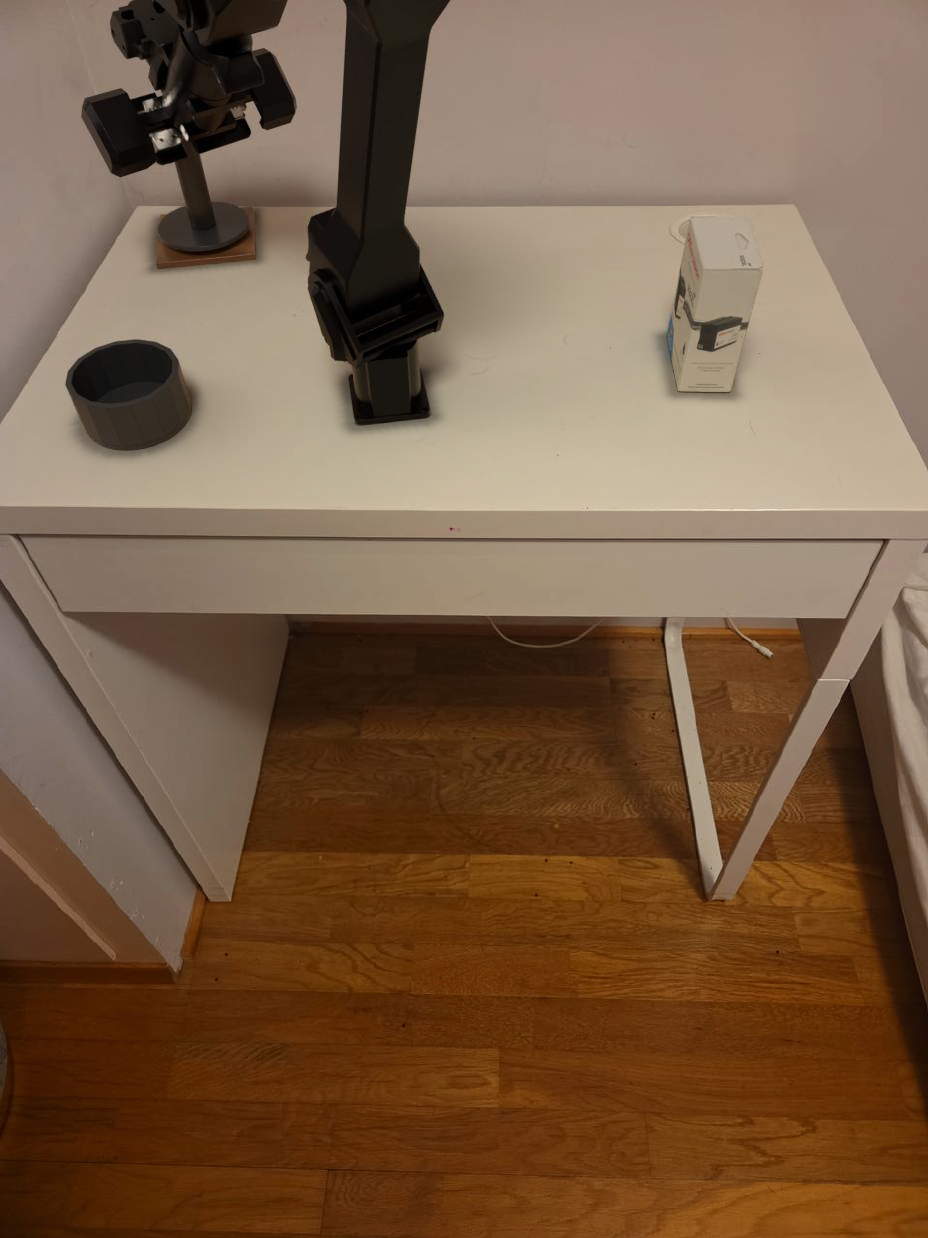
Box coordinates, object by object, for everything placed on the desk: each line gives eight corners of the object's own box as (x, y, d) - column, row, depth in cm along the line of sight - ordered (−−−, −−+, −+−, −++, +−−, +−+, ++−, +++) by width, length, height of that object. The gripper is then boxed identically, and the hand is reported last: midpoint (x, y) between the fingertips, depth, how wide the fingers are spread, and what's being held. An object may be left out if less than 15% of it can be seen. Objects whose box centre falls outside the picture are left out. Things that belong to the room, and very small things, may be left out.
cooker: (190, 443, 75) (176, 399, 71) (79, 456, 74) (59, 412, 70) (192, 377, 80) (179, 334, 77) (89, 388, 79) (71, 345, 76)
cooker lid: (190, 267, 90) (162, 165, 82) (144, 232, 95) (113, 132, 87) (268, 234, 94) (248, 134, 86) (220, 202, 98) (197, 103, 90)
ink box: (664, 335, 83) (688, 212, 74) (718, 336, 83) (748, 212, 74) (675, 393, 78) (702, 268, 69) (732, 394, 78) (766, 268, 69)
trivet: (255, 259, 92) (254, 253, 92) (157, 268, 91) (155, 263, 91) (254, 211, 98) (253, 205, 98) (161, 219, 97) (160, 214, 97)
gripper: (257, -57, 77) (225, 49, 91) (47, -8, 70) (47, 98, 84) (318, 73, 79) (277, 156, 93) (121, 133, 72) (109, 213, 86)
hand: (181, 153), depth 89 cm, fingers closed on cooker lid, 2 cm apart
